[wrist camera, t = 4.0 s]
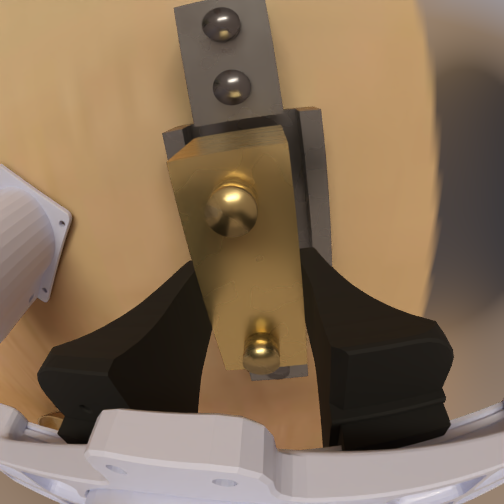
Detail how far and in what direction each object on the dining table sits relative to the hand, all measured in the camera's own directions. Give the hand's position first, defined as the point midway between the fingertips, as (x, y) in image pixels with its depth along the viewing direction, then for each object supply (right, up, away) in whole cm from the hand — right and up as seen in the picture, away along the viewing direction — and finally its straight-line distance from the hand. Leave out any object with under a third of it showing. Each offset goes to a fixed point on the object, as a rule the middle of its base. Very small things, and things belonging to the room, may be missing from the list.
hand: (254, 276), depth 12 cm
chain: (0, +3, +6) cm, 7 cm away
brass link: (0, +2, +2) cm, 3 cm away
